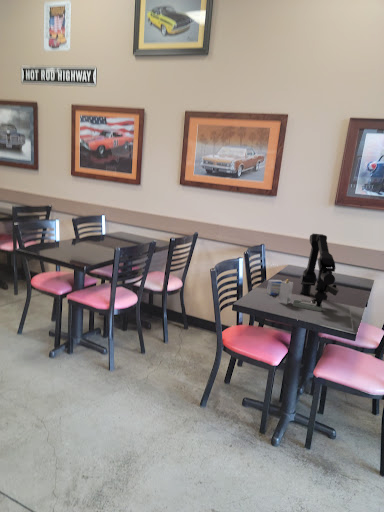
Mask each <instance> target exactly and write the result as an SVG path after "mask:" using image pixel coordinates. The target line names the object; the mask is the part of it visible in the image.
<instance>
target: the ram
mask: <svg viewBox="0 0 384 512" xmlns="http://www.w3.org/2000/svg"><path fill="white" fill-rule="evenodd" d="M300 300H301V304H306V305H311V306H316V303H317V302H316V298H313V297H312V298H311V300H307V299H300Z"/></svg>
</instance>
